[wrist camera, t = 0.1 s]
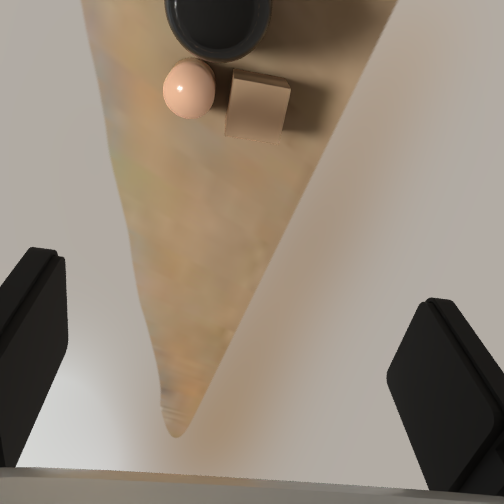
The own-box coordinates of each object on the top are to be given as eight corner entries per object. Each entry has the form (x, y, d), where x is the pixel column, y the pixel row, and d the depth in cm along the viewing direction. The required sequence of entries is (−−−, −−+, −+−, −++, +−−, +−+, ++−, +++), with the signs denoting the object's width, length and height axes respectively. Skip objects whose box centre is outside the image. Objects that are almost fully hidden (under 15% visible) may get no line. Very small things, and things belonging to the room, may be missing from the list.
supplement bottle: (281, -11, 34) (304, -7, 24) (232, 65, 37) (234, 98, 27) (207, -75, 32) (197, -100, 22) (160, 12, 35) (132, 25, 25)
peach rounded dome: (171, 53, 37) (165, 60, 33) (219, 62, 37) (218, 70, 34) (167, 102, 39) (161, 114, 35) (212, 110, 39) (210, 122, 36)
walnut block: (233, 68, 37) (233, 78, 34) (284, 78, 38) (291, 89, 34) (225, 120, 40) (224, 135, 36) (273, 129, 40) (278, 144, 36)
